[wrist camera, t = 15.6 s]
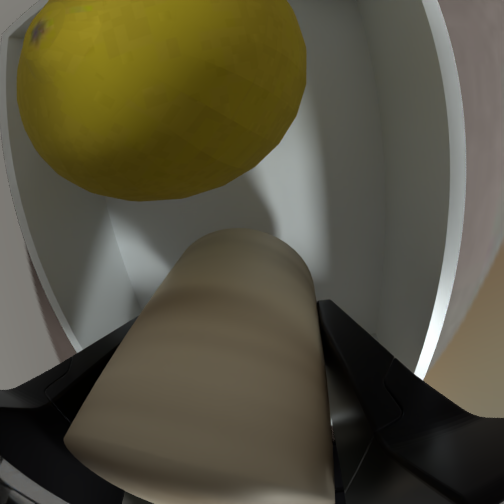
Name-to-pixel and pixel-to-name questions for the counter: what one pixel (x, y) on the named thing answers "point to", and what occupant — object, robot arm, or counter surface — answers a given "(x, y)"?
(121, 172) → the lemon
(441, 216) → the tote
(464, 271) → the counter surface
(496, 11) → the counter surface
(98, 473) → the birch peg
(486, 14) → the counter surface
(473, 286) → the counter surface
